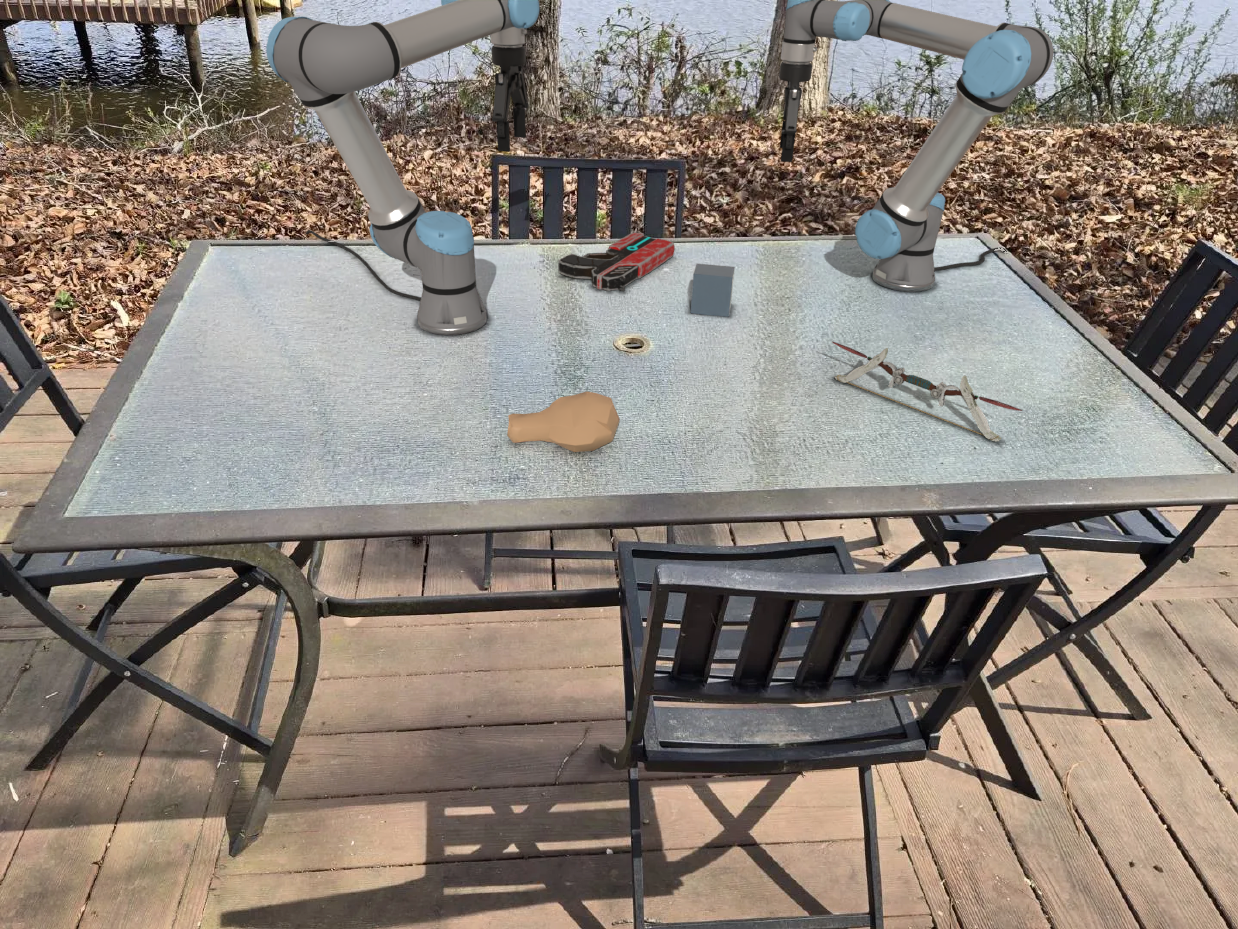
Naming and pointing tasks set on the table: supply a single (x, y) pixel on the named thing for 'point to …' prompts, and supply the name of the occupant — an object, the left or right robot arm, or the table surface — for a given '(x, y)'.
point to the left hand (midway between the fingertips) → (512, 143)
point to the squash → (569, 423)
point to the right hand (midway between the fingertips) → (785, 154)
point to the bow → (936, 391)
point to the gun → (618, 261)
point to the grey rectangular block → (712, 290)
